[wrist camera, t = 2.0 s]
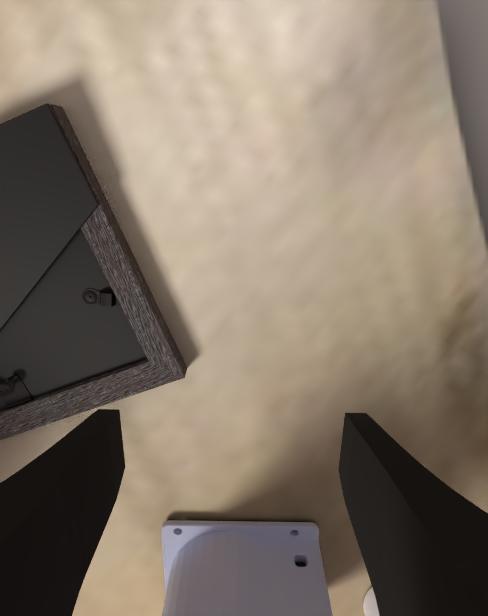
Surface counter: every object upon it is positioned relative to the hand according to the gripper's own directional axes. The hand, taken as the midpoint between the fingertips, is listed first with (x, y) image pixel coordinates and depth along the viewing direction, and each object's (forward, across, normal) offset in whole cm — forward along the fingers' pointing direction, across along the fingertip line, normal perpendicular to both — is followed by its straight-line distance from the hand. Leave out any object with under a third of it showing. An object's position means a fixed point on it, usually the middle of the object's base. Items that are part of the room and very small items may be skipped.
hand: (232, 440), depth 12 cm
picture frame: (+10, +14, 0) cm, 17 cm away
